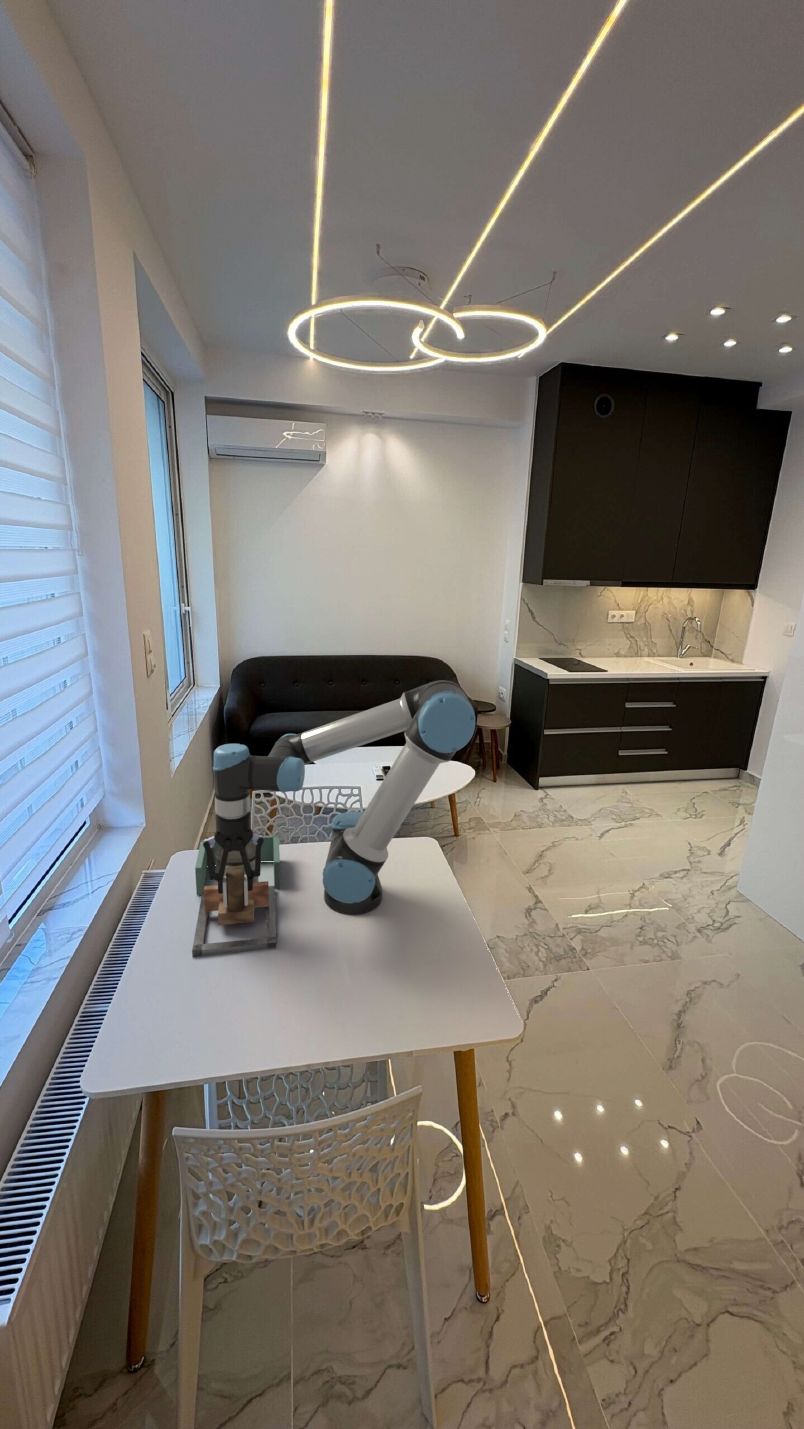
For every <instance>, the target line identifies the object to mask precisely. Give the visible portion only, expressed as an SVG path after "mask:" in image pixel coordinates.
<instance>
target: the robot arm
mask: <svg viewBox="0 0 804 1429" xmlns="http://www.w3.org/2000/svg"><path fill="white" fill-rule="evenodd" d="M400 696H401V697H399V698H398V699H395V700H392V701H390V702H389V701H388V702H387V703H386V702H385V703H383V704H380V705H378V706H374V707H372V708H369V709H367V710H362V711H360V712H357V713H354V714H351V715H349V716H346V717H342V718H341V719H337V720H334V721H332V722H330V723H327V724H324V725H321V726H318V727H315V728H314V727H313V728H312V729H309V730H306V731H303V732H300V733H297V734H296V733H286V734H284V735H282V736H281V737H280V738H279V739H278V740H277V741H275V743H274V746H273V747H272V748H271V751H270V752H269V754H268V755H267V756H264V755H263V756H262V755H261V756H260V755H251V754H250V753H251V752H250V751H249V747H248V746H247V745H245V744H240V743H225V744H222V745H219V746H218V747H216V748H215V750H213V767H212V770H213V783H214V787H213V788H214V809H215V810H214V811H215V832H214V835H213V836H211V837H208V836H206V837H204V839H203V840H204V842H203V846H204V848H205V850H206V852H207V862H208V868H207V872H208V880H209V881H216V882H218V893H219V894H222V893H223V902H224V908H225V907H227V885H226V876H225V877H224V872H225V867H226V862H227V857H228V852H231V851H239V852H240V855H241V858H242V861H243V865H244V869H245V872H246V875H244V898H245V906H246V905H248V891H252V889H253V878H254V877H258V878H259V877H260V876H261V867H262V866H261V864H262V863H261V846H262V844H263V842H264V836H265V835H264V833H259V834H258V833H254V832H253V830H252V828H251V794H250V791H269V792H271V791H272V792H281V793H288V792H298V791H301V790H302V788H303V786H304V782H305V776H306V775H305V774H306V773H305V770H306V768H305V767H306V766H305V765H309V764H311V763H313V762H316V761H320V760H322V759H325V758H329V757H331V756H334V755H337V754H340V753H343V752H347V751H348V750H349V751H350V750H352V749H354V748H357V747H361V746H364V745H367V744H370V743H373V742H375V741H378V740H381V739H384V738H387V737H390V736H393V735H396V734H398V733H402V732H404V733H403V734H404V738H405V744H404V746H403V747H402V749H401V751H400V752H399V754H398V756H397V757H396V759H395V761H394V762H393V764H392V765H391V767H390V769H389V770H388V772H387V773H386V775H385V777H384V778H383V781H382V782H381V783H380V785H379V786H378V789H377V790H376V792H375V793H374V795H373V796H372V798H371V800H370V801H369V802H368V805H367V807H365V809H364V811H362V812H360V811H347V812H342V813H339V814H336V815H335V816H334V817H333V818H332V821H331V822H332V825H330V827H331V839H330V846H329V849H328V853H327V856H326V861H325V864H324V868H323V869H322V885H323V887H324V891H323V892H324V893H323V895H324V896H323V900H324V902H325V904H326V905H327V907H328V908H329V909H332V910H333V911H335V912H338V913H341V914H346V915H360V914H365V913H369V912H371V911H373V910H375V909H376V908H378V907H379V906H380V905H381V902H382V901H383V886H382V883H381V880H380V877H379V872H381V869H383V866H384V865H385V863H386V862H387V860H388V858H389V851H388V845H389V844H390V843H391V841H392V840H393V838H394V837H395V835H396V834H397V832H398V831H399V829H400V827H401V826H402V824H403V823H404V821H405V819H406V817H407V816H408V815H409V813H410V811H411V810H412V808H413V807H414V805H415V803H416V802H417V800H418V799H419V797H420V796H421V794H422V792H423V791H424V789H425V788H426V786H427V785H428V784H429V781H430V780H431V778H432V777H433V775H434V774H435V772H436V770H437V769H438V767H439V766H440V764H444V763H449V762H450V761H451V760H452V759H453V757H454V755H455V754H456V752H457V751H460V750H461V749H462V748H464V747H465V746H466V745H468V743H469V742H470V741H471V739H472V737H473V735H474V733H475V728H476V714H475V710H474V707H473V705H472V704H471V702H470V701H469V698H468V695H467V693H466V692H465V690H464V689H463V688H462V687H461V686H460V685H458V683H456V682H453V681H451V680H443V679H442V680H435V681H432V682H428V683H426V684H423V685H421V686H418V687H416V688H413V689H411V690H408V691H404V692H403V693H402V695H400ZM251 839H253V843H254V844H255V869H253V870H252V868H251V864H250V861H249V857H248V853H247V850H246V846H247V844H248V843H249V842H250V840H251ZM215 841H216V842H217V843H218V844H219V845H220V846H221V847H222V849H223V851H222V857H221V862H220V867H219V872H218V873H217V871H216V866H215V865H214V854H213V847H214V842H215Z"/></svg>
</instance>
